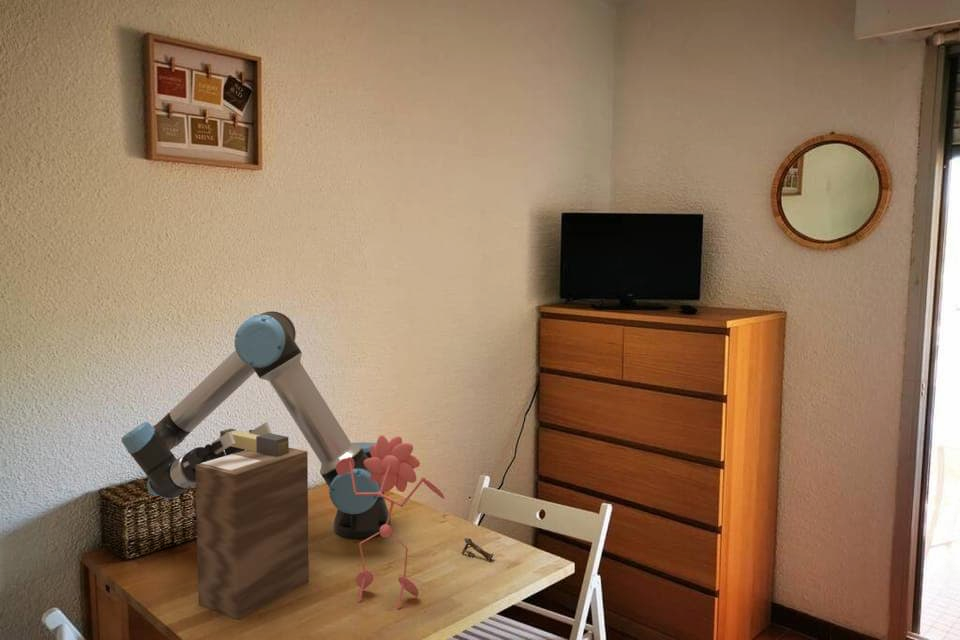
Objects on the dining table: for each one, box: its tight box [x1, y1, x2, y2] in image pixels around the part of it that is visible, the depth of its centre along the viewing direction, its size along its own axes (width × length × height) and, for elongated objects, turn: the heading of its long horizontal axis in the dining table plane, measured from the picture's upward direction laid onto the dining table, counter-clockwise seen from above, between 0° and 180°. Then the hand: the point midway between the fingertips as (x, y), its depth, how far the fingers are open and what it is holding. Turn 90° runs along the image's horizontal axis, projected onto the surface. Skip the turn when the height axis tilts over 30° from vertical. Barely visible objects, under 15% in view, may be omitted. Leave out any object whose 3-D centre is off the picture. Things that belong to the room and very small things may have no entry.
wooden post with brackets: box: [461, 537, 495, 562], centre depth 179 cm, size 2×8×4 cm, turn 64°
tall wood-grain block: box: [195, 447, 310, 620], centre depth 158 cm, size 12×20×30 cm, turn 149°
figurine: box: [336, 434, 445, 614], centre depth 160 cm, size 15×26×35 cm, turn 72°
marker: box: [219, 428, 290, 457], centre depth 163 cm, size 18×4×4 cm, turn 59°
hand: (250, 432), depth 164 cm, fingers open, 10 cm apart
